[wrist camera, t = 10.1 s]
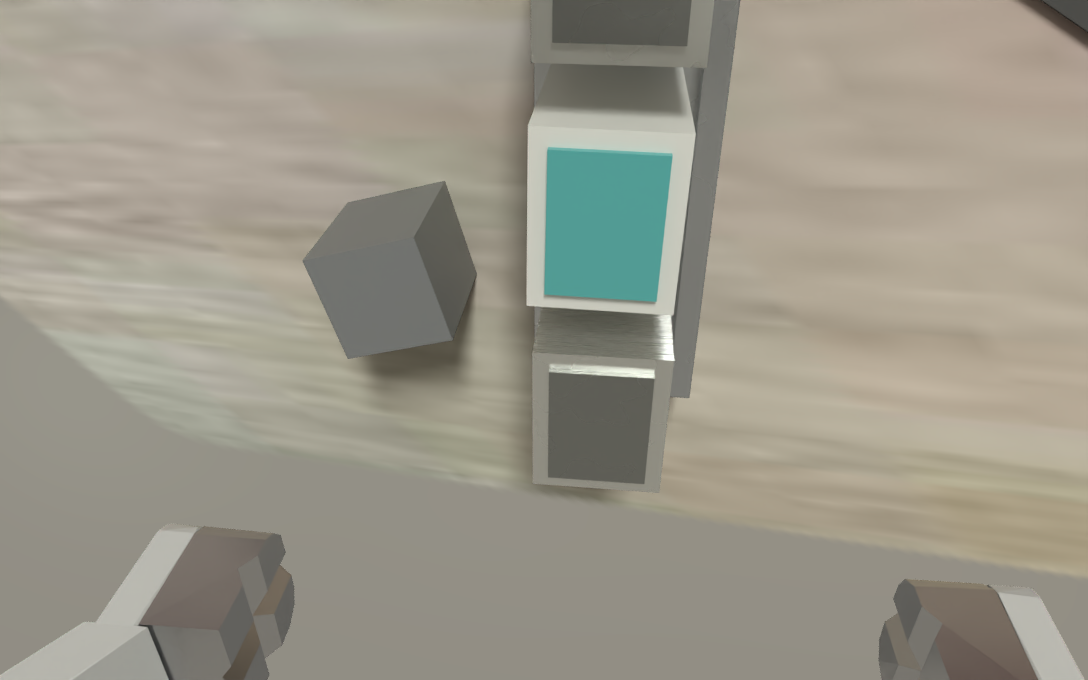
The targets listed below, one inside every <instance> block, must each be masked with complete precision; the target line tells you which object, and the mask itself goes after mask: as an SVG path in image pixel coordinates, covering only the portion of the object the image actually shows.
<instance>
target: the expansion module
mask: <svg viewBox="0 0 1088 680" xmlns="http://www.w3.org/2000/svg"><path fill="white" fill-rule="evenodd" d="M695 137H696V132H695V127H694V122H693V117H692V112H691V106H690V101H689V96H688V91H687V86H686V81H685V75H684V70H683V67H653V66H619V65H585V64H551V65H550V68H549V71H548V73H547V76H546V79H545V81H544V84H543V87H542V89H541V92H540V95H539V97H538V100H537V103H536V105H535V108H534V111H533V113H532V116H531V119H530V121H529V124H528V176H527V303H526V306H538V307H553V308H569V309H584V310H599V311H614V312H629V313H644V314H659V315H673V314H674V306H675V298H676V290H677V282H678V274H679V266H680V258H681V250H682V242H683V234H684V225H685V217H686V209H687V201H688V193H689V185H690V177H691V169H692V161H693V153H694V145H695Z"/></svg>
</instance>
